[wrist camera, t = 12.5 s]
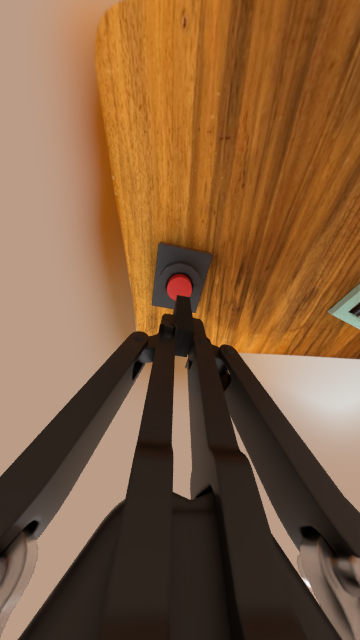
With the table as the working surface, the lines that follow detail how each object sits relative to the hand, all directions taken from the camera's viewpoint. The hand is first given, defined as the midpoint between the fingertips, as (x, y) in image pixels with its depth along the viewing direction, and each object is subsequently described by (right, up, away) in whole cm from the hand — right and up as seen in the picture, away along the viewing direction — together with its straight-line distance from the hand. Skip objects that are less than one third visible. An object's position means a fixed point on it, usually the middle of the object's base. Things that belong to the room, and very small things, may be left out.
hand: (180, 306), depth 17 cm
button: (0, +4, +5) cm, 7 cm away
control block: (0, +6, +8) cm, 10 cm away
